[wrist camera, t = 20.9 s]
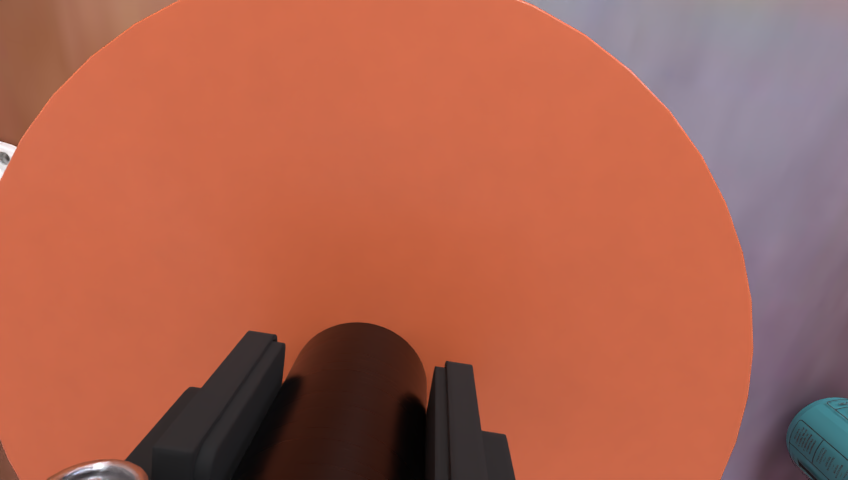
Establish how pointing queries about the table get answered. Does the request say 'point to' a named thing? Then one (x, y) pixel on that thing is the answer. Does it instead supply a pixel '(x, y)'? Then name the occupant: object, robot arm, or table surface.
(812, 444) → the beverage bottle
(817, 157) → the table surface
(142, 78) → the lid
